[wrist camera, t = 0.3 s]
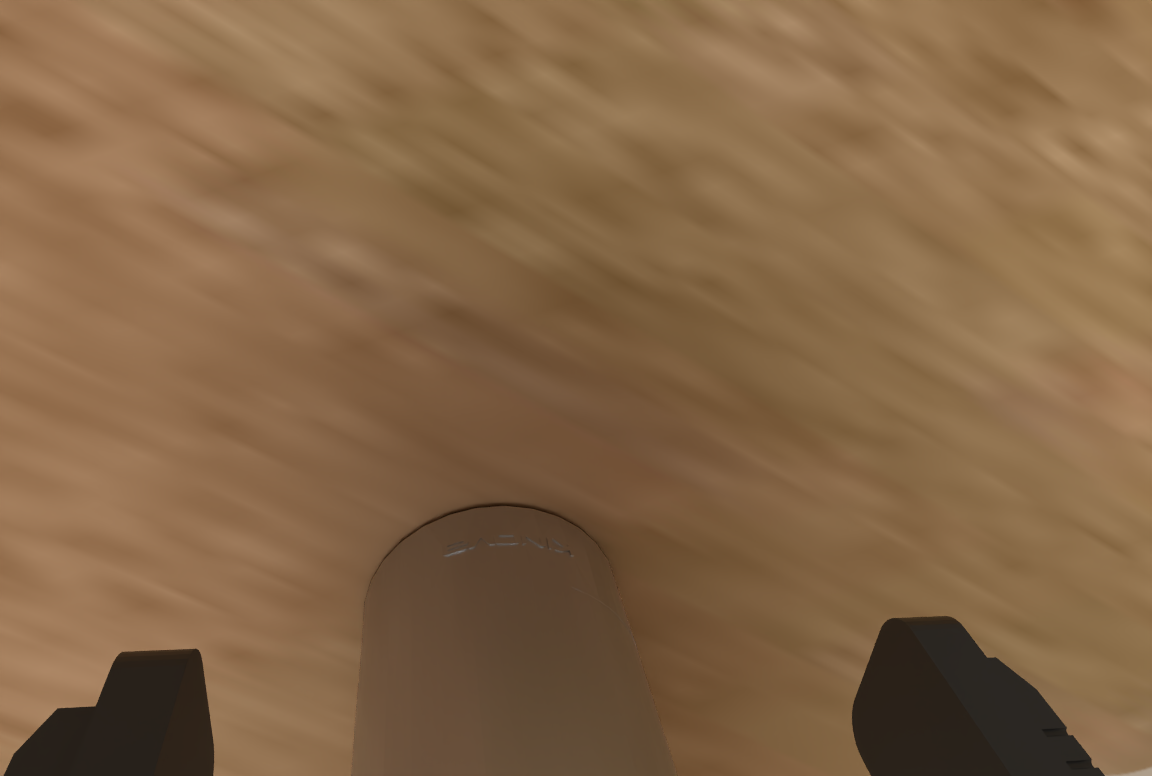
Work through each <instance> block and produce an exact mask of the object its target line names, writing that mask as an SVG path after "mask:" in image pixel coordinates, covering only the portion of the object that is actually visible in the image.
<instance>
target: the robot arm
mask: <svg viewBox="0 0 1152 776" xmlns="http://www.w3.org/2000/svg"><path fill="white" fill-rule="evenodd" d="M852 725H853V732H854V737H855V741H856V745H857V748H858V750H859V753H860V755H861V757H862V759H863V761H864V763H865V765H866V767H867V769H868V771H869V773H870V775H871V776H1105V775H1104V774H1103V773H1102V772H1101V770H1100V769H1099V768H1094V767H1093V766H1092V763H1091V760H1092V759H1091V758H1090V757H1089V755H1088V754H1087V753H1086V751H1085V750H1084V749H1083V748H1082V746H1081V745H1080V744H1079V743H1078V741H1077V740H1076V739H1075V738H1074V736H1073V735H1070V736H1069V735H1068V734H1067V732H1066V728H1067V727H1066V726H1065V725H1064V724H1063V722H1062V721H1061V720H1060V719H1059V717H1058V716H1057V715H1056V713H1055V712H1054V711H1053V710H1052V708H1051V707H1050V706H1049V705H1048V703H1047V702H1046V701H1045V700H1044V698H1043V697H1042V696H1041V695H1040V693H1039V692H1038V691H1037V689H1035V688H1034V687H1033V686H1031V685H1030V684H1029V683H1028V682H1026V681H1025V680H1024V679H1023V678H1021V677H1020V676H1019V675H1017V674H1016V673H1015V672H1014V671H1012V670H1011V669H1010V668H1009V667H1007V666H1006V665H1005V664H1004V663H1002V662H1001V661H1000V660H998V659H997V658H996V657H995V658H987V657H986V656H985V655H984V653H983V652H982V651H981V649H980V648H979V647H978V645H977V644H976V643H975V641H974V640H973V639H972V637H971V636H970V635H969V633H968V632H967V631H966V629H965V628H964V627H963V626H962V625H961V624H960V623H959V622H958V621H957V620H956V619H954V618H952V617H948V616H938V617H913V618H892V619H889V620H887V621H886V622H885V623H884V625H883V626H882V628H881V630H880V633H879V635H878V638H877V641H876V643H875V646H874V649H873V652H872V654H871V657H870V660H869V662H868V665H867V668H866V670H865V673H864V676H863V679H862V681H861V684H860V687H859V689H858V692H857V695H856V697H855V700H854V704H853V710H852ZM213 771H214V744H213V736H212V729H211V721H210V714H209V707H208V700H207V692H206V685H205V678H204V671H203V663H202V658H201V654H200V652H199V650H198V649H183V650H158V651H134V652H122V653H120V654H119V655H118V656H117V657H116V659H115V661H114V662H113V665H112V667H111V669H110V672H109V674H108V677H107V679H106V682H105V684H104V687H103V689H102V692H101V694H100V697H99V700H98V702H97V705H96V706H95V707H76V708H58V709H57V710H56V711H55V712H54V713H53V714H52V715H51V716H50V717H49V718H48V719H47V720H46V721H45V722H44V723H43V724H42V725H41V726H40V727H39V728H38V729H37V731H36V732H35V733H34V734H33V735H32V736H31V737H30V738H29V739H28V740H27V741H26V742H25V743H24V744H23V745H22V746H21V747H20V748H19V749H18V750H17V751H16V752H15V753H14V755H13V757H12V759H11V761H10V763H9V765H8V768H7V770H6V772H5V774H4V776H213ZM351 776H678V775H677V772H676V769H675V766H674V763H673V760H672V756H671V753H670V750H669V747H668V744H667V741H666V738H665V735H664V731H663V728H662V725H661V722H660V719H659V716H658V713H657V710H656V706H655V703H654V700H653V697H652V694H651V691H650V688H649V685H648V682H647V678H646V675H645V672H644V669H643V666H642V663H641V660H640V657H639V653H638V650H637V646H636V643H635V640H634V637H633V634H632V631H631V628H630V625H629V622H628V619H627V616H626V612H625V609H624V606H623V603H622V600H621V597H620V594H619V591H618V588H617V585H616V582H615V579H614V576H613V573H612V570H611V567H610V564H609V562H608V560H607V558H606V557H605V555H604V554H603V552H602V551H601V549H600V548H599V546H598V545H597V543H596V542H594V541H593V540H592V539H591V538H590V537H589V536H588V535H587V534H585V533H584V532H583V531H582V530H581V529H580V528H578V527H576V526H575V525H573V524H571V523H569V522H567V521H565V520H564V519H562V518H560V517H558V516H555V515H552V514H548V513H545V512H542V511H538V510H535V509H530V508H521V507H511V506H497V507H483V508H475V509H471V510H467V511H463V512H459V513H455V514H451V515H448V516H445V517H443V518H441V519H439V520H437V521H434V522H432V523H430V524H428V525H425V526H423V527H422V528H420V529H419V530H417V531H416V532H415V533H413V534H412V535H410V536H409V537H407V538H406V539H404V540H403V541H402V542H400V543H399V545H398V546H397V547H396V548H395V549H394V550H393V551H392V552H391V553H390V554H389V555H388V556H387V557H386V558H385V559H384V560H383V562H382V563H381V565H380V567H379V568H378V570H377V572H376V573H375V575H374V577H373V579H372V580H371V583H370V586H369V589H368V593H367V596H366V600H365V604H364V618H363V632H362V645H361V659H360V672H359V683H358V692H357V704H356V717H355V731H354V744H353V758H352V771H351Z"/></svg>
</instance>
